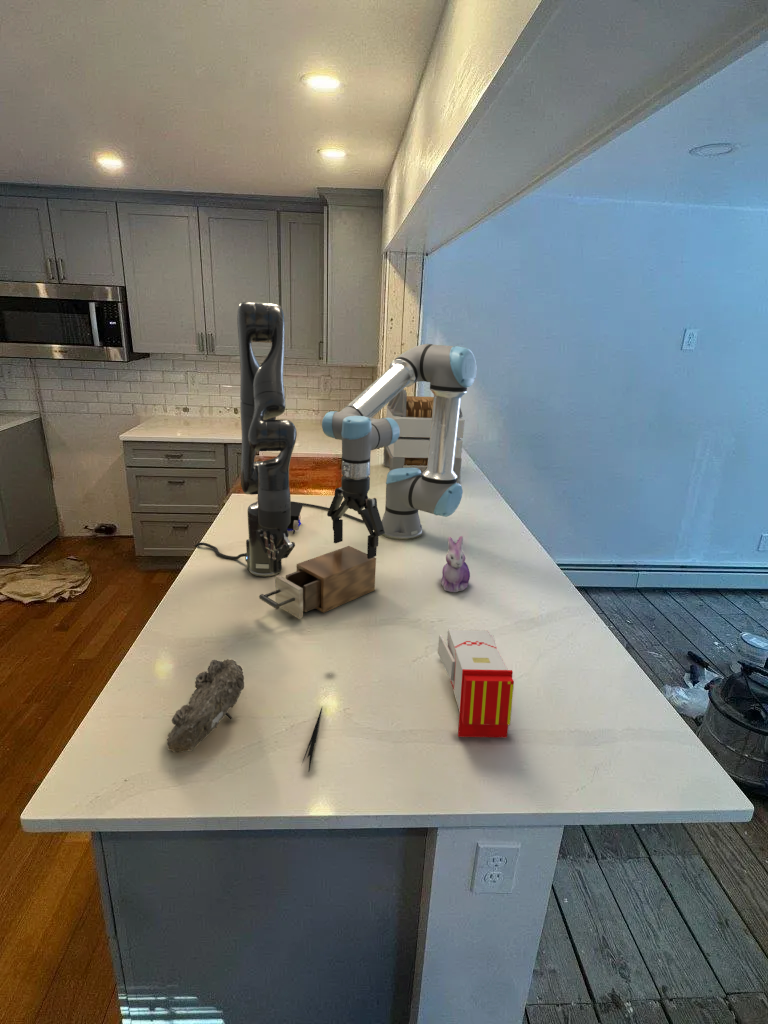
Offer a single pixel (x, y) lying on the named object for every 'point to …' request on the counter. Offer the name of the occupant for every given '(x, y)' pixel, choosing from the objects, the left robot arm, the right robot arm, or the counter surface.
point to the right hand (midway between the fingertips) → (354, 549)
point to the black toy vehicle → (295, 517)
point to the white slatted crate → (415, 433)
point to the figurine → (455, 568)
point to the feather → (313, 740)
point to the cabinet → (341, 576)
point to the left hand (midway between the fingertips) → (275, 571)
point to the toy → (478, 682)
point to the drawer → (295, 593)
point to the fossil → (206, 705)
